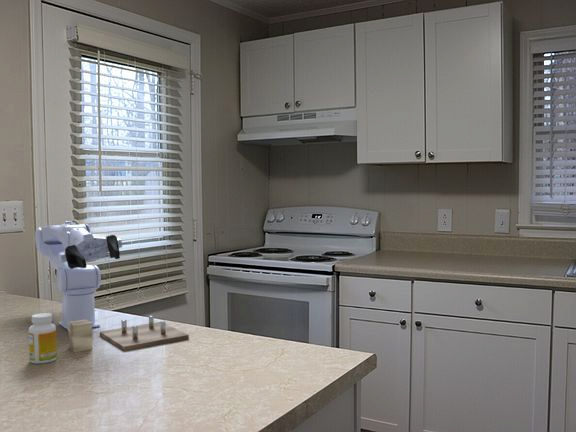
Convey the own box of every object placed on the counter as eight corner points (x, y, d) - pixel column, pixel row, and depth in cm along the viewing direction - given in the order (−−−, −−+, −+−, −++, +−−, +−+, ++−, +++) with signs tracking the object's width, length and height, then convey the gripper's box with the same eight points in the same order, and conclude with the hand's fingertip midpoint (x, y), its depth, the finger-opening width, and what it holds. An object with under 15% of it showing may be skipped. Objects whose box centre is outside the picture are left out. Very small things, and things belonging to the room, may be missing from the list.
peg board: (99, 335, 142) (99, 319, 142) (160, 325, 152) (160, 310, 152) (123, 351, 130) (123, 333, 129) (188, 338, 139) (188, 322, 139)
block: (69, 348, 132) (68, 322, 132) (86, 344, 135) (86, 319, 134) (74, 352, 129) (73, 325, 129) (92, 349, 131) (91, 322, 131)
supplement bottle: (61, 356, 126) (60, 312, 125) (49, 364, 120) (47, 318, 120) (38, 356, 126) (36, 311, 126) (24, 363, 121) (22, 317, 120)
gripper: (51, 236, 140) (65, 251, 129) (111, 222, 147) (129, 234, 136) (57, 263, 142) (71, 280, 131) (116, 248, 149) (134, 262, 138)
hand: (101, 259), depth 133 cm, fingers open, 7 cm apart
